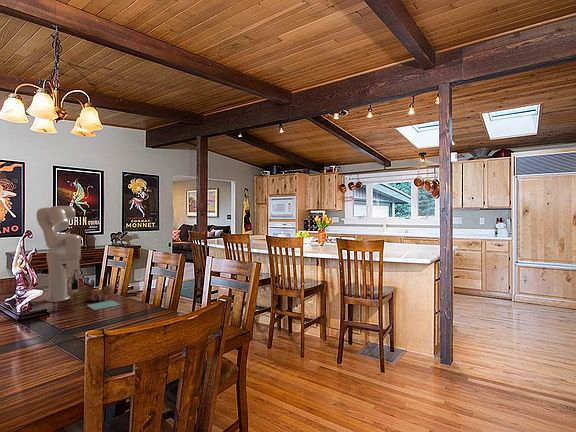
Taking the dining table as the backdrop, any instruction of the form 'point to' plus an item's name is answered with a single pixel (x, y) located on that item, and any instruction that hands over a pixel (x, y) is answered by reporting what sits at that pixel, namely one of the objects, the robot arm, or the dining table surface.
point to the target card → (103, 305)
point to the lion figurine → (101, 292)
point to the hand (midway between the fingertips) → (73, 288)
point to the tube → (71, 286)
